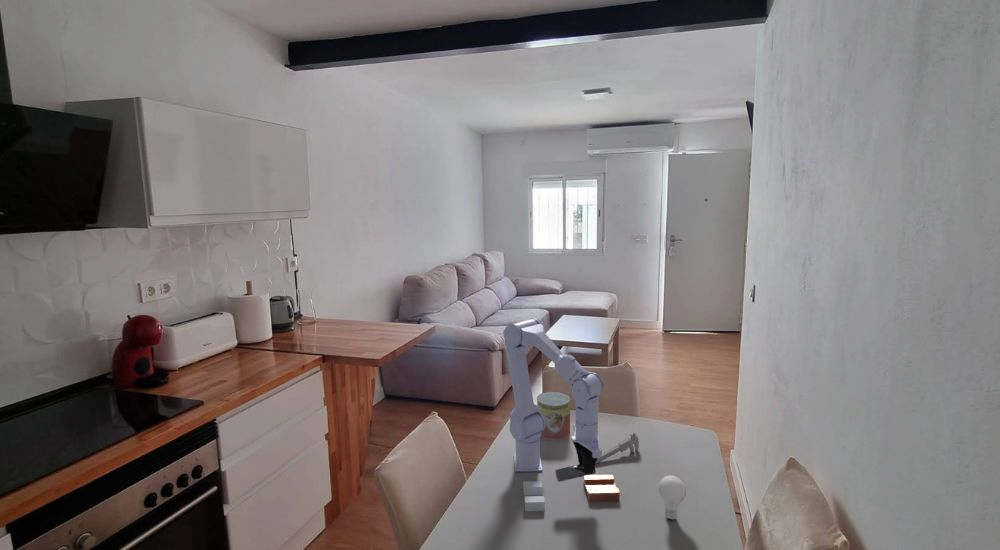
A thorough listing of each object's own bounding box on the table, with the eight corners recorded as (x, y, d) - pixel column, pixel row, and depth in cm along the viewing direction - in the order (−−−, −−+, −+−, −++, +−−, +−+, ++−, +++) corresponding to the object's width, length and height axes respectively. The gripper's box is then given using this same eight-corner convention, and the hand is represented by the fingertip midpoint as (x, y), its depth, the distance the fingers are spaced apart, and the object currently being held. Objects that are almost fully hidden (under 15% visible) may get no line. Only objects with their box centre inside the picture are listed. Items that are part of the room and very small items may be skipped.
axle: (559, 484, 123) (558, 473, 123) (556, 478, 126) (554, 467, 126) (596, 475, 125) (595, 465, 125) (591, 469, 128) (590, 459, 128)
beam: (523, 489, 131) (523, 481, 131) (541, 489, 131) (541, 481, 131) (525, 511, 122) (525, 502, 122) (544, 511, 122) (544, 502, 122)
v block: (583, 483, 134) (583, 475, 133) (612, 483, 134) (612, 474, 133) (589, 501, 126) (589, 492, 126) (619, 501, 126) (619, 492, 126)
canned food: (537, 439, 158) (537, 405, 156) (536, 423, 169) (536, 391, 167) (572, 439, 158) (572, 405, 156) (568, 423, 169) (568, 391, 167)
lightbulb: (662, 506, 123) (664, 467, 122) (688, 516, 119) (690, 476, 118) (653, 519, 119) (655, 478, 117) (679, 530, 115) (681, 488, 113)
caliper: (636, 449, 151) (636, 431, 150) (638, 451, 150) (639, 432, 149) (583, 467, 142) (583, 447, 141) (585, 468, 141) (586, 449, 140)
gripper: (562, 410, 130) (562, 456, 132) (582, 435, 116) (581, 487, 118) (587, 407, 131) (586, 453, 134) (609, 432, 117) (608, 483, 120)
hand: (586, 468), depth 126 cm, fingers closed on axle, 3 cm apart
